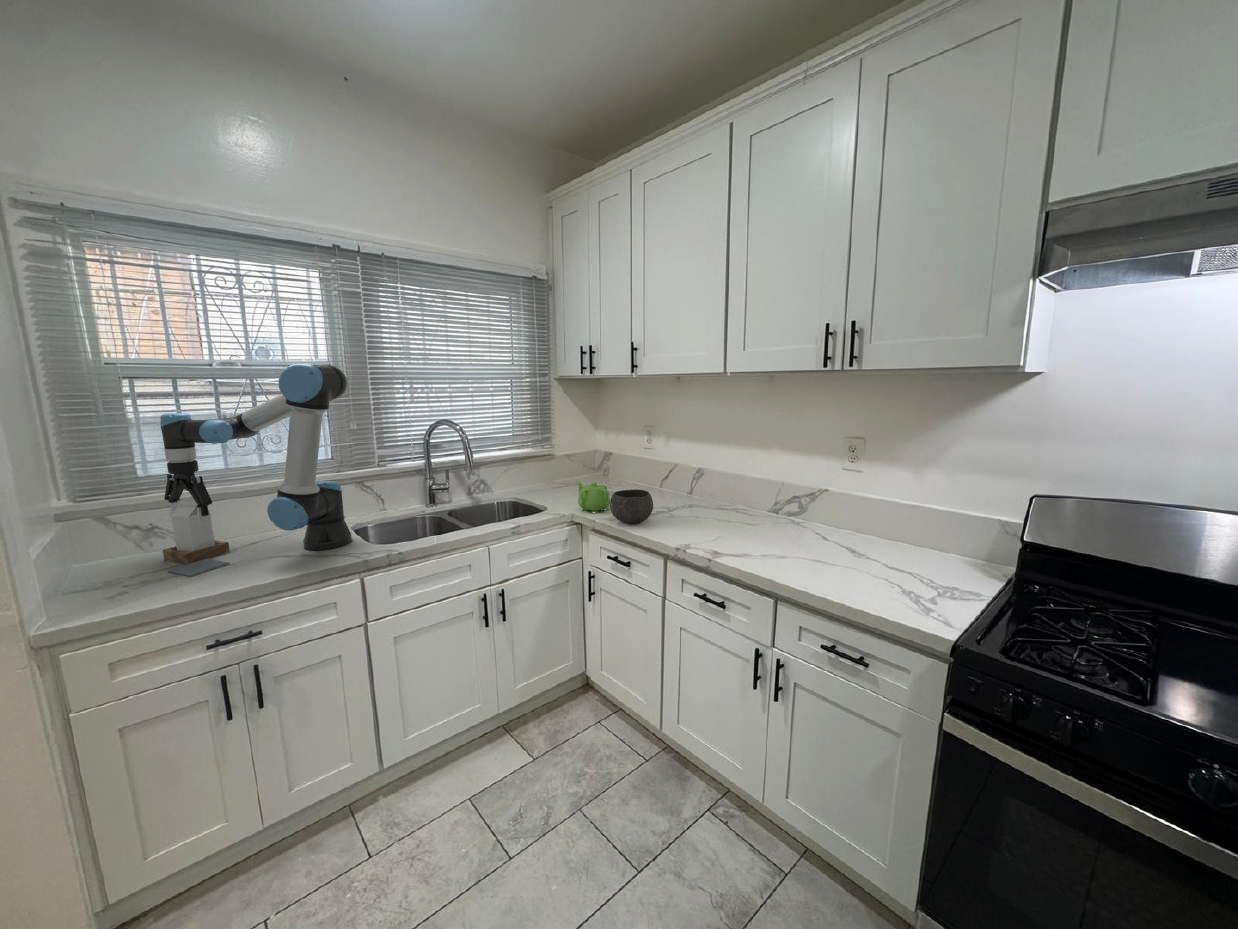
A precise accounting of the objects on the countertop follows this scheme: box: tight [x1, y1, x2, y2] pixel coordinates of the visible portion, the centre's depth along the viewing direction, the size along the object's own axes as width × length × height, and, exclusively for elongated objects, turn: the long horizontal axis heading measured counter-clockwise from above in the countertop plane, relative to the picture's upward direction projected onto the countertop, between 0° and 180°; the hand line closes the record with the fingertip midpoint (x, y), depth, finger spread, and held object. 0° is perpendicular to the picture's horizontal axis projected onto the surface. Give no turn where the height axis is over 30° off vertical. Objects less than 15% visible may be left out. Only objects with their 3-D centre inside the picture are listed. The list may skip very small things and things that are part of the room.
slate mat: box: [167, 558, 230, 578], centre depth 154 cm, size 11×11×1 cm
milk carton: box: [170, 500, 216, 553], centre depth 163 cm, size 7×7×19 cm
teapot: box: [575, 480, 611, 513], centre depth 219 cm, size 16×14×13 cm
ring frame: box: [162, 539, 231, 565], centre depth 165 cm, size 12×12×4 cm
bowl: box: [609, 488, 654, 525], centre depth 200 cm, size 18×18×13 cm
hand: (191, 523), depth 163 cm, fingers open, 13 cm apart
